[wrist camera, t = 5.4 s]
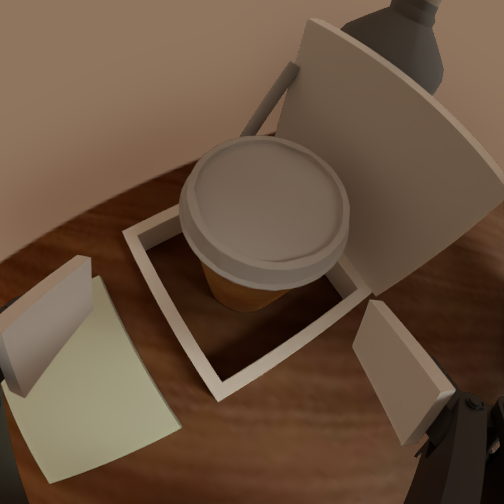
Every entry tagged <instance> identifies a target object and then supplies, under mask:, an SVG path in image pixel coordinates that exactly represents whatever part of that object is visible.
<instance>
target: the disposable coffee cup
mask: <svg viewBox="0 0 504 504" xmlns="http://www.w3.org/2000/svg"><path fill="white" fill-rule="evenodd" d="M349 216H350V205H349V201H348V197H347V193H346V190H345V187H344V185H343V184H342V182H341V180H340V179H339V177H338V175H337V174H336V173H335V171H334V170H333V169H332V168H331V167H330V166H329V164H327V163H326V162H325V161H324V160H322V159H321V158H320V157H319V156H317V155H316V154H315V153H313V152H312V151H311V150H309V149H307V148H305V147H303V146H301V145H299V144H297V143H294V142H292V141H289V140H286V139H282V138H277V137H272V136H243V137H239V138H235V139H231V140H228V141H226V142H223V143H221V144H219V145H217V146H215V147H214V148H212V149H211V150H210V151H208V152H207V153H205V154H204V155H203V157H202V158H201V159H200V160H199V161H198V162H197V164H196V165H195V167H194V168H193V170H192V172H191V174H190V175H189V176H188V178H187V180H186V182H185V184H184V186H183V188H182V190H181V195H180V201H179V218H180V223H181V228H182V231H183V234H184V236H185V238H186V240H187V242H188V243H189V245H190V247H191V249H192V250H193V252H194V253H195V254H196V255H197V256H198V258H199V260H200V262H201V265H202V268H203V271H204V273H205V276H206V279H207V281H208V284H209V287H210V290H211V292H212V294H213V295H214V297H215V298H216V299H217V301H218V302H219V303H221V304H222V305H224V306H225V307H227V308H229V309H231V310H233V311H237V312H245V313H247V312H255V311H258V310H261V309H262V308H264V307H266V306H267V305H269V304H270V303H272V302H273V301H275V300H276V299H278V298H279V297H281V296H282V295H284V294H285V293H287V292H288V291H290V290H291V289H292V288H298V287H301V286H304V285H306V284H308V283H311V282H313V281H315V280H317V279H318V278H320V277H321V276H322V275H324V274H325V273H326V272H328V271H329V270H330V269H331V268H332V267H333V266H334V265H335V263H336V262H337V260H338V259H339V258H340V256H341V255H342V253H343V251H344V248H345V246H346V243H347V240H348V233H349Z"/></svg>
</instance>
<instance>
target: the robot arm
mask: <svg viewBox="0 0 504 504" xmlns="http://www.w3.org/2000/svg"><path fill="white" fill-rule="evenodd" d="M93 310H94V309H93V295H92V276H91V257H86V256H81V255H77V256H75V257H74V258H72V259H71V260H70V261H68V262H67V263H65V264H64V265H63V266H61V267H60V268H58V269H57V270H56V271H54V272H53V273H52V274H50V275H49V276H48V277H46V278H45V279H44V280H42V281H41V282H40V283H38V284H37V285H36V286H34V287H33V288H32V289H31V290H29V291H28V292H27V293H25V294H24V295H21V296H19V297H16V298H14V299H12V300H10V301H9V302H8V303H7V304H5V305H4V307H2V308H1V309H0V384H1V383H2V381H3V380H4V379H5V381H6V384H7V386H8V388H9V391H11V392H13V393H14V394H16V395H18V396H20V397H22V398H26V397H27V395H28V394H29V392H30V391H31V389H32V388H33V387H34V385H35V384H36V382H37V381H38V380H39V378H40V377H41V375H42V374H43V373H44V371H45V370H46V369H47V367H48V366H49V365H50V363H51V362H52V361H53V359H54V358H55V357H56V355H57V354H58V353H59V352H60V350H61V349H62V348H63V346H64V345H65V344H66V343H67V341H68V340H69V339H70V338H71V336H72V335H73V334H74V333H75V331H76V330H77V329H78V328H79V326H80V325H81V324H82V323H83V322H84V320H85V319H86V318H87V317H88V316H89V314H90V313H91V312H92V311H93ZM352 348H353V350H354V352H355V354H356V356H357V357H358V359H359V361H360V363H361V365H362V367H363V369H364V371H365V373H366V375H367V377H368V378H369V380H370V382H371V384H372V386H373V388H374V390H375V392H376V394H377V396H378V398H379V400H380V402H381V404H382V406H383V408H384V410H385V412H386V414H387V416H388V418H389V420H390V422H391V424H392V426H393V428H394V430H395V432H396V435H397V437H398V439H399V441H400V443H401V445H402V446H404V445H409V444H414V443H418V441H419V440H420V439H421V438H422V436H423V435H424V434H425V433H427V435H428V437H429V439H428V440H427V441H426V443H425V444H424V445H423V446H422V447H421V448H420V450H419V451H418V452H417V453H416V455H415V456H414V457H416V458H417V456H418V455H419V454H420V453H422V454H421V458H420V461H419V464H418V467H417V470H416V473H415V475H414V478H413V481H412V484H411V486H410V489H409V491H408V494H407V496H406V499H405V501H404V504H504V396H501V397H500V398H499V399H498V400H497V402H496V403H495V405H494V406H488V405H486V404H485V403H484V401H483V400H482V399H481V398H480V397H479V396H477V395H475V394H473V393H469V392H467V393H462V392H461V391H460V389H459V388H458V387H457V386H456V384H455V383H454V382H453V380H452V379H451V378H450V377H449V375H448V374H446V372H445V370H444V369H443V368H441V365H440V364H439V363H438V362H437V360H436V359H435V358H433V357H432V356H431V355H429V354H428V353H427V352H426V351H425V350H424V349H423V348H422V346H421V345H420V344H419V343H418V342H417V340H416V339H415V338H414V337H413V336H412V334H411V333H410V332H409V331H408V330H407V329H406V327H405V326H404V325H403V324H402V323H401V321H400V320H399V319H398V318H397V317H396V316H395V315H394V313H393V312H392V311H391V310H390V309H389V308H388V307H387V305H386V304H385V303H384V302H383V301H378V300H369V302H368V305H367V308H366V311H365V314H364V316H363V319H362V322H361V324H360V327H359V330H358V332H357V335H356V337H355V340H354V342H353V345H352ZM498 441H499V442H500V447H499V448H498V449H497V450H496V451H495V452H494V453H492V448H493V447H494V446H495V444H496V443H497V442H498ZM0 504H29V502H28V499H27V496H26V493H25V490H24V487H23V484H22V481H21V478H20V475H19V471H18V468H17V464H16V461H15V457H14V453H13V449H12V444H11V440H10V435H9V430H8V425H7V419H6V413H5V406H4V399H3V392H2V389H1V386H0Z"/></svg>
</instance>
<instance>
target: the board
mask: <svg viewBox="0 0 504 504" xmlns="http://www.w3.org/2000/svg"><path fill="white" fill-rule="evenodd" d="M92 295H93V309H94V310H93V311H92V312H91V313H90V314H89V316H88V317H87V318H86V319H85V320H84V322H83V323H82V324H81V325H80V326H79V328H78V329H77V330H76V331H75V333H74V334H73V335H72V336H71V338H70V339H69V340H68V341H67V343H66V344H65V345H64V346H63V348H62V349H61V350H60V352H59V353H58V354H57V355H56V357H55V358H54V359H53V361H52V362H51V363H50V365H49V366H48V367H47V369H46V370H45V371H44V373H43V374H42V375H41V377H40V378H39V380H38V381H37V382H36V384H35V385H34V387H33V388H32V389H31V391H30V392H29V394H28V395H27V397H26V398H22V397H20V396H18V395H16V394H14V393H13V392H11V391H9V388H8V386H7V384H6V381H5V379H4V380H3V381H2V383H1V385H2V388H3V391H4V393H5V396H6V399H7V401H8V404H9V406H10V409H11V411H12V413H13V416H14V418H15V420H16V422H17V425H18V427H19V429H20V431H21V433H22V435H23V437H24V439H25V441H26V443H27V445H28V447H29V449H30V451H31V453H32V455H33V456H34V458H35V460H36V462H37V464H38V465H39V467H40V469H41V470H42V472H43V474H44V475H45V477H46V479H47V480H48V482H49V483H50V484H51V483H54V482H57V481H60V480H63V479H66V478H69V477H72V476H75V475H77V474H80V473H83V472H86V471H88V470H91V469H93V468H96V467H98V466H101V465H103V464H106V463H108V462H111V461H113V460H116V459H118V458H120V457H122V456H125V455H127V454H129V453H131V452H134V451H136V450H138V449H140V448H142V447H144V446H147V445H149V444H151V443H153V442H155V441H157V440H159V439H161V438H163V437H165V436H167V435H169V434H171V433H173V432H175V431H177V430H179V429H180V428H182V425H181V424H180V422H179V421H178V419H177V418H176V416H175V415H174V413H173V412H172V410H171V409H170V407H169V405H168V404H167V402H166V401H165V399H164V397H163V396H162V394H161V393H160V391H159V389H158V388H157V386H156V384H155V383H154V381H153V379H152V378H151V376H150V374H149V372H148V371H147V369H146V367H145V365H144V364H143V362H142V360H141V358H140V356H139V354H138V353H137V351H136V349H135V347H134V345H133V343H132V341H131V339H130V337H129V335H128V333H127V331H126V329H125V327H124V325H123V323H122V321H121V319H120V317H119V315H118V313H117V311H116V309H115V306H114V304H113V302H112V300H111V298H110V295H109V293H108V291H107V289H106V286H105V284H104V282H103V279H102V278H101V277H100V276H99V275H98V276H96V277H95V278H93V279H92Z"/></svg>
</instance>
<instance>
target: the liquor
mask: <svg viewBox="0 0 504 504" xmlns="http://www.w3.org/2000/svg"><path fill="white" fill-rule="evenodd" d="M440 3H441V0H392V1H391V4H390V7H387V8H384V9H381V10H379V11H376V12H374V13H371V14H368V15H366V16H363V17H361V18H358V19H356V20H354V21H351V22H349V23H347V24H345V25H344V26H343V27H342V28H341V29H340V30H341V31H343V32H345V33H346V34H348V35H350V36H351V37H353V38H354V39H356V40H358V41H359V42H361V43H362V44H364V45H366V46H367V47H369V48H370V49H372V50H373V51H375V52H376V53H377V54H379V55H380V56H382V57H383V58H385V59H386V60H387V61H389V62H390V63H392V64H393V65H394V66H396V67H397V68H398V69H400V70H401V71H402V72H404V73H405V74H406V75H407V76H409V77H410V78H411V79H412V80H414V81H415V82H416V83H417V84H418V85H420V86H421V87H422V88H423V89H424V90H426V91H427V92H428V93H429V94H430V95H431V96H433V94H434V93H435V91H436V90H437V88H438V86H439V85H440V83H441V81H442V77H443V70H444V69H443V65H442V61H441V57H440V53H439V50H438V46H437V43H436V39H435V37H434V33H433V30H432V26H433V25H434V23H435V14H436V12H437V9H438V7H439V5H440Z"/></svg>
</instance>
